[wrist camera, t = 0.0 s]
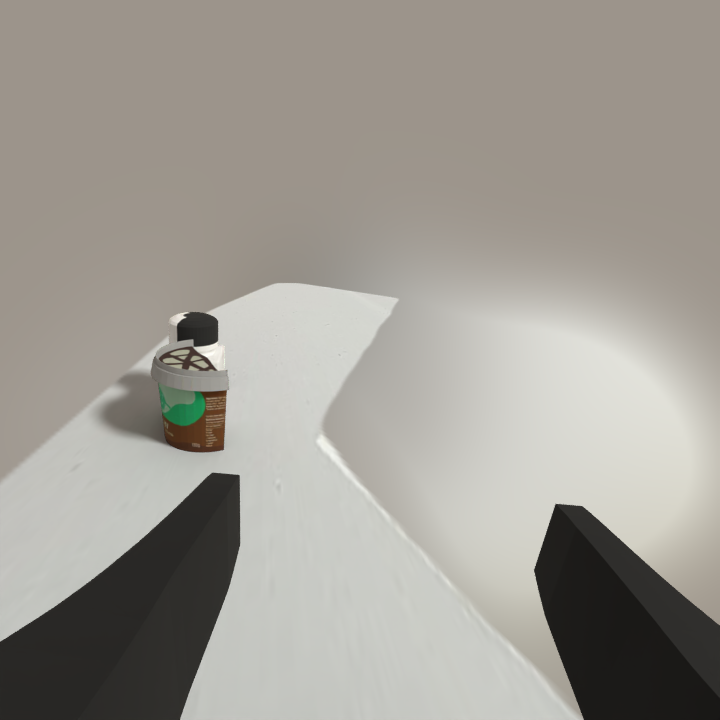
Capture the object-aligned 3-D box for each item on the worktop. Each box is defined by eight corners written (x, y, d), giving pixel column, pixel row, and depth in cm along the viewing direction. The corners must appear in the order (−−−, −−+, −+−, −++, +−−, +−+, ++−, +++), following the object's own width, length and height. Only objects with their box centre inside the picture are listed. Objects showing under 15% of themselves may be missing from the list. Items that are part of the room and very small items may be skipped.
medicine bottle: (224, 391, 70) (225, 310, 66) (219, 413, 63) (219, 324, 59) (172, 390, 69) (170, 307, 65) (161, 412, 62) (157, 321, 58)
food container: (142, 420, 59) (138, 342, 56) (192, 411, 63) (191, 338, 60) (171, 469, 50) (167, 379, 47) (228, 456, 54) (229, 371, 50)
